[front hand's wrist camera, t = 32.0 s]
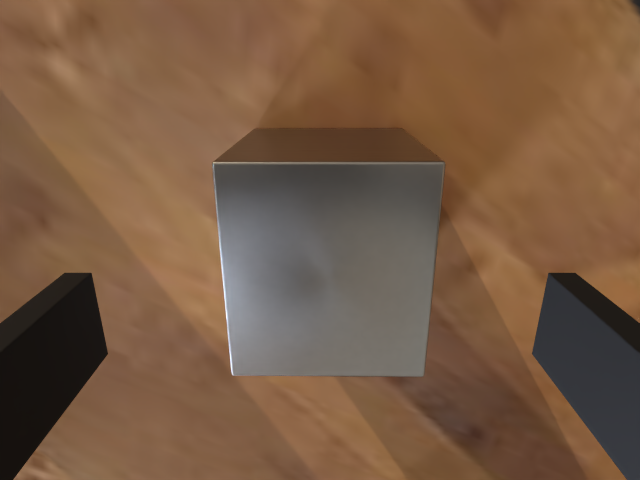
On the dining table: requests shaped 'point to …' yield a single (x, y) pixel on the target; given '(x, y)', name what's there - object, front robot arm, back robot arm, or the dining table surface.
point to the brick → (328, 251)
